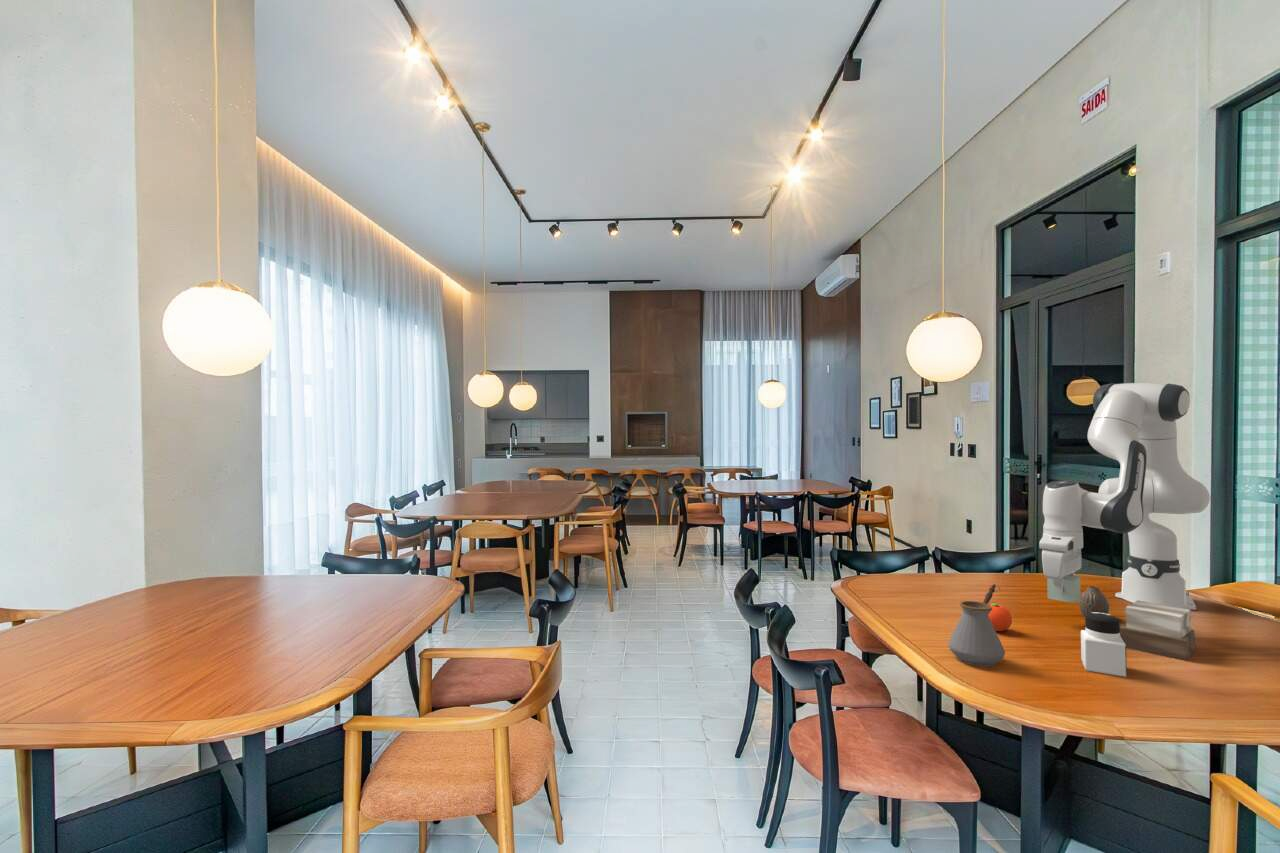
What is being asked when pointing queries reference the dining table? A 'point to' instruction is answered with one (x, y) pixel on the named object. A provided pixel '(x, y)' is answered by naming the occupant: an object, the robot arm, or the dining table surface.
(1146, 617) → the tower top
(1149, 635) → the tower base
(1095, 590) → the brown ridged oval lump
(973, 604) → the coffee pot
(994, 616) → the clementine
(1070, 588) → the sage cube
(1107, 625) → the medicine bottle
